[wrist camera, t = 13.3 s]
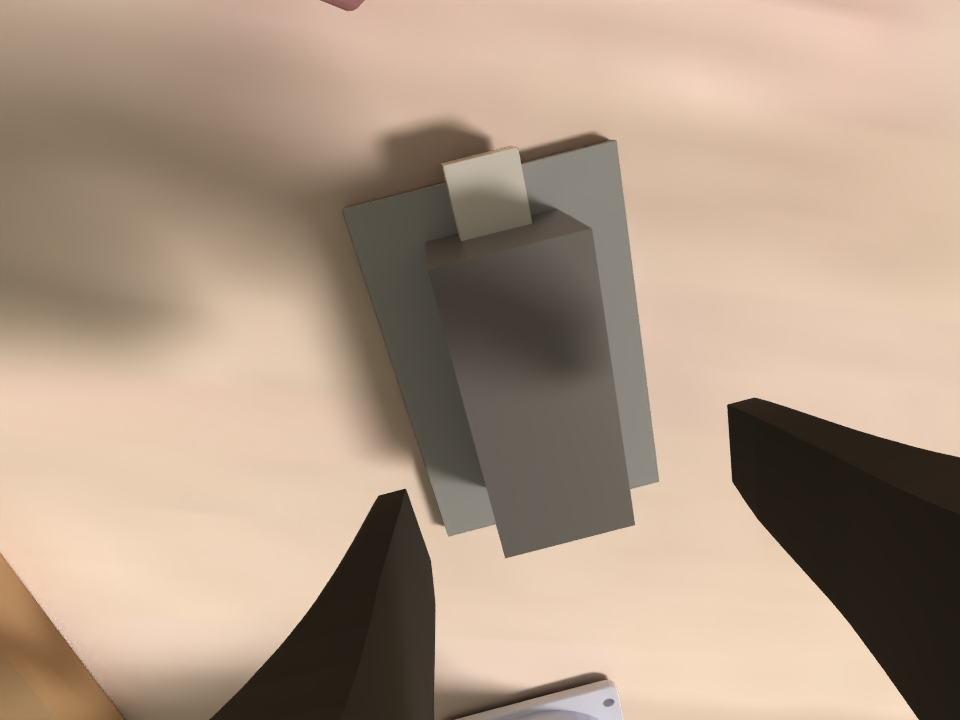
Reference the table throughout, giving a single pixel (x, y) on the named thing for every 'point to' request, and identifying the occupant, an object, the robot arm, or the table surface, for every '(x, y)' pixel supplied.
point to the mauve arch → (345, 4)
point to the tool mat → (421, 339)
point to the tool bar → (530, 357)
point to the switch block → (41, 664)
